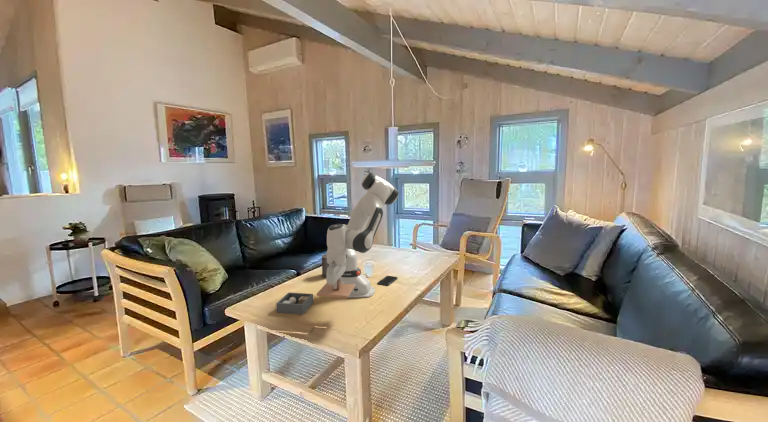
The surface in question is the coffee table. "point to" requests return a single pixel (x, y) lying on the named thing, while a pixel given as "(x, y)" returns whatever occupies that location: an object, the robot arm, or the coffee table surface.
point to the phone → (387, 280)
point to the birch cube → (302, 299)
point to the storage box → (295, 307)
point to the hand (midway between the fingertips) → (336, 286)
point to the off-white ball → (293, 300)
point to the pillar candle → (324, 265)
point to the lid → (336, 290)
